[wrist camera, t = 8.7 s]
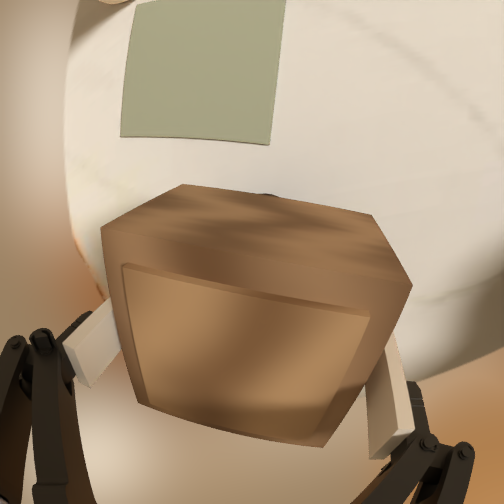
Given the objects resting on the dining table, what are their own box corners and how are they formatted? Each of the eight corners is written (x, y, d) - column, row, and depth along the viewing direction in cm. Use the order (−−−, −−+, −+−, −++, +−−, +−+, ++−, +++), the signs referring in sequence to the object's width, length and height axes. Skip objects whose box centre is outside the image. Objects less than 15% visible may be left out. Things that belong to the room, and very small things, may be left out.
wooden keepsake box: (371, 215, 16) (415, 291, 8) (326, 358, 21) (322, 453, 13) (182, 183, 17) (94, 231, 10) (183, 328, 22) (135, 407, 15)
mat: (286, -8, 18) (286, -9, 17) (269, 144, 25) (269, 144, 24) (137, 5, 20) (136, 4, 20) (121, 136, 27) (120, 136, 27)
